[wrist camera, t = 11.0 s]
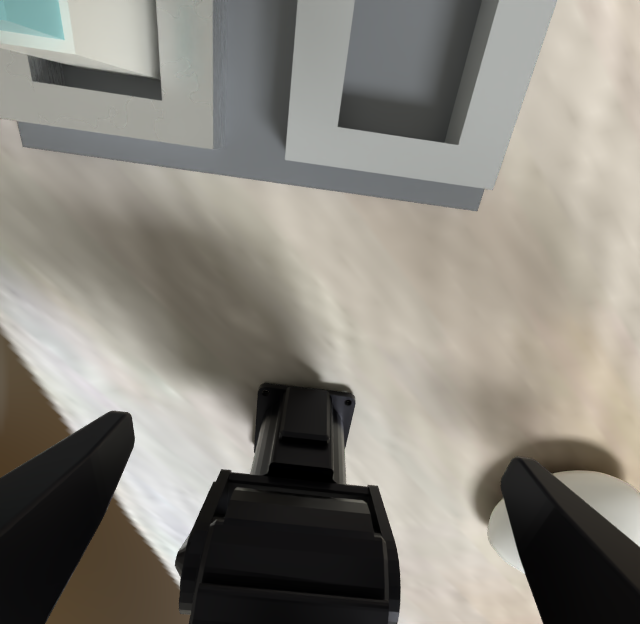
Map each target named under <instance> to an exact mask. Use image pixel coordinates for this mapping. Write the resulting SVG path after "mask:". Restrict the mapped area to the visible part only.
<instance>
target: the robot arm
mask: <svg viewBox="0 0 640 624" xmlns="http://www.w3.org/2000/svg"><path fill="white" fill-rule="evenodd" d="M263 390H267V391H269V392H264V391H263ZM346 400H351V401H349V402H347V401H346ZM354 408H355V396H354V395H353V394H351V393H345V392H337V391H328V390H320V389H311V388H303V387H294V386H286V385H277V384H269V383H264V384H261V385H260V387H259V391H258V400H257V415H256V430H255V445H254V453H255V455H254V460H253V464H252V469H251V473H250V474H243V473H234V472H231V470H223V469H221V471H220V474H219V476H218V478H217V480H216V482H213V484H212V486H211V489H210V491H209V492H208V495H207V497H206V500H205V502H204V504H203V506H202V509H201V511H200V513H199V515H198V517H197V520H196V522H195V524H194V526H193V529H192V531H191V533H190V534H189V536H188V537H187V539H186V540H185V542H184V544H183V545H182V547H181V548H180V550H179V551H178V554H177V557H176V561H175V567H176V569H177V571H178V573H179V575H180V577H181V580H180V598H179V611H180V614H190V621H189V624H397V622H398V617H399V610H400V588H401V586H400V569H399V559H398V553H397V548H396V544H395V540H394V537H393V534H392V530H391V527H390V524H389V521H388V517H387V514H386V511H385V508H384V504H383V501H382V498H381V495H380V492H379V488H378V486H374V485H368V486H367V487H366V486H356V485H347V484H346V468H345V447H346V442H347V438H348V434H349V429H350V425H351V421H352V416H353V412H354ZM134 442H135V436H134V429H133V422H132V416H131V414H130V413H128V412H120V411H110V412H108V413H106V414H104V415H103V416H101V417H99V418H98V419H96V420H95V421H93V422H91V423H90V424H88V425H86V426H85V427H83V428H81V429H80V430H78V431H76V432H75V433H73V434H72V435H70V436H68V437H67V438H65V439H63V440H62V441H60V442H59V443H57V444H55V445H54V446H52V447H51V448H49V449H47V450H46V451H44V452H42V453H40V454H39V455H37V456H35V457H34V458H32V459H31V460H29V461H27V462H26V463H24V464H22V465H21V466H19V467H17V468H16V469H14V470H13V471H11V472H9V473H8V474H6V475H4V476H3V477H1V478H0V624H45V623H46V621H47V619H48V618H49V616H50V613H51V612H52V610H53V608H54V607H55V605H56V603H57V601H58V599H59V597H60V596H61V594H62V592H63V590H64V588H65V586H66V585H67V583H68V581H69V579H70V577H71V576H72V574H73V572H74V570H75V568H76V567H77V565H78V563H79V561H80V559H81V557H82V556H83V554H84V552H85V550H86V548H87V546H88V545H89V543H90V541H91V539H92V537H93V536H94V534H95V532H96V530H97V528H98V526H99V524H100V522H101V521H102V519H103V517H104V515H105V513H106V510H107V508H108V506H109V504H110V501H111V499H112V497H113V494H114V492H115V490H116V487H117V485H118V482H119V480H120V478H121V475H122V473H123V471H124V468H125V466H126V464H127V461H128V459H129V457H130V454H131V452H132V450H133V447H134ZM501 491H502V494H503V498H504V502H505V506H506V510H507V513H508V517H509V521H510V525H511V529H512V532H513V536H514V540H515V544H516V547H517V551H518V554H519V557H520V560H521V563H522V566H523V569H524V572H525V575H526V578H527V580H528V583H529V586H530V589H531V591H532V594H533V597H534V600H535V602H536V605H537V608H538V611H539V613H540V616H541V619H542V622H543V624H640V547H639V546H638V545H637V544H636V543H635V542H633V541H632V540H631V539H630V538H629V537H627V536H626V535H625V534H624V533H623V532H621V531H620V530H619V529H618V528H617V527H615V526H614V525H613V524H612V523H611V522H609V521H608V520H607V519H606V518H604V517H603V516H602V515H601V514H600V513H598V512H597V511H596V510H595V509H594V508H592V507H591V506H590V505H589V504H588V503H586V502H585V501H584V500H583V499H582V498H580V497H579V496H578V495H577V494H576V493H574V492H573V491H572V490H571V489H570V488H568V487H567V486H566V485H565V484H564V483H562V482H561V481H560V480H559V479H558V478H556V477H555V476H554V475H553V474H552V473H550V472H549V471H548V470H547V469H546V468H544V467H543V466H542V465H541V464H540V463H538V462H537V461H536V460H534V459H532V458H527V457H518V456H517V457H514V458H513V459H512V460H511V462H510V464H509V465H508V467H507V469H506V471H505V473H504V475H503V476H502V479H501Z"/></svg>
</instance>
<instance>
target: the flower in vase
mask: <svg viewBox="0 0 640 624" xmlns="http://www.w3.org/2000/svg"><path fill="white" fill-rule="evenodd" d="M553 475H554V476H555V477H556V478H558V479H559V480H560V481H561V482H562V483H564V484H565V485H566V486H567V487H568V488H570V489H571V490H572V491H573V492H574V493H576V494H577V495H578V496H579V497H580V498H582V499H583V500H584V501H585V502H586V503H588V504H589V505H590V506H591V507H592V508H594V509H595V510H596V511H597V512H598V513H600V514H601V515H602V516H603V517H604V518H606V519H607V520H608V521H609V522H611V523H612V524H613V525H614V526H615V527H617V528H618V529H619V530H620V531H621V532H623V533H624V534H625V535H626V536H627V537H629V538H630V539H631V540H632V541H633V542H635V543H636V544H637V545H638V546H639V547H640V493H639V491H638V490H637V489H636V488H635V487H633V486H632V485H630V484H629V483H627V482H625V481H623V480H621V479H618V478H616V477H613V476H611V475H608V474H605V473H601V472H596V471H586V470H574V471H564V472H558V473H553ZM487 534H488V539H489V542H490V544H491V546H492V547H493V549H494V550H495V551H496V552H497V553H498V555H499V556H500V557H501V558H502V559H503V560H504V561H505V562H506V563H508V564H509V565H511V566H512V567H514V568H516V569H517V570H519V571H521V572H522V573H524V574H525V572H524V569H523V566H522V563H521V560H520V557H519V554H518V551H517V547H516V544H515V540H514V536H513V532H512V529H511V525H510V521H509V517H508V513H507V510H506V506H505V502H504V498H503V499H502V500H501V501H500V502H499V503H498V504H497V505H496V507H495V508H494V510H493V512H492V514H491V517H490V520H489V525H488V532H487Z"/></svg>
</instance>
